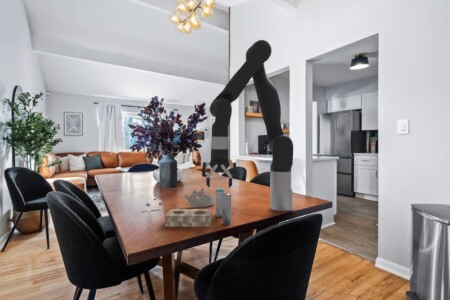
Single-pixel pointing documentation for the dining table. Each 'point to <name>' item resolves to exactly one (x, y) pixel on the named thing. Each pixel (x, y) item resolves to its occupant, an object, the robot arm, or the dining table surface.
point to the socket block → (188, 218)
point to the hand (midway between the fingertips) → (219, 187)
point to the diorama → (149, 205)
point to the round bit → (226, 208)
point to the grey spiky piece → (200, 199)
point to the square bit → (219, 201)
